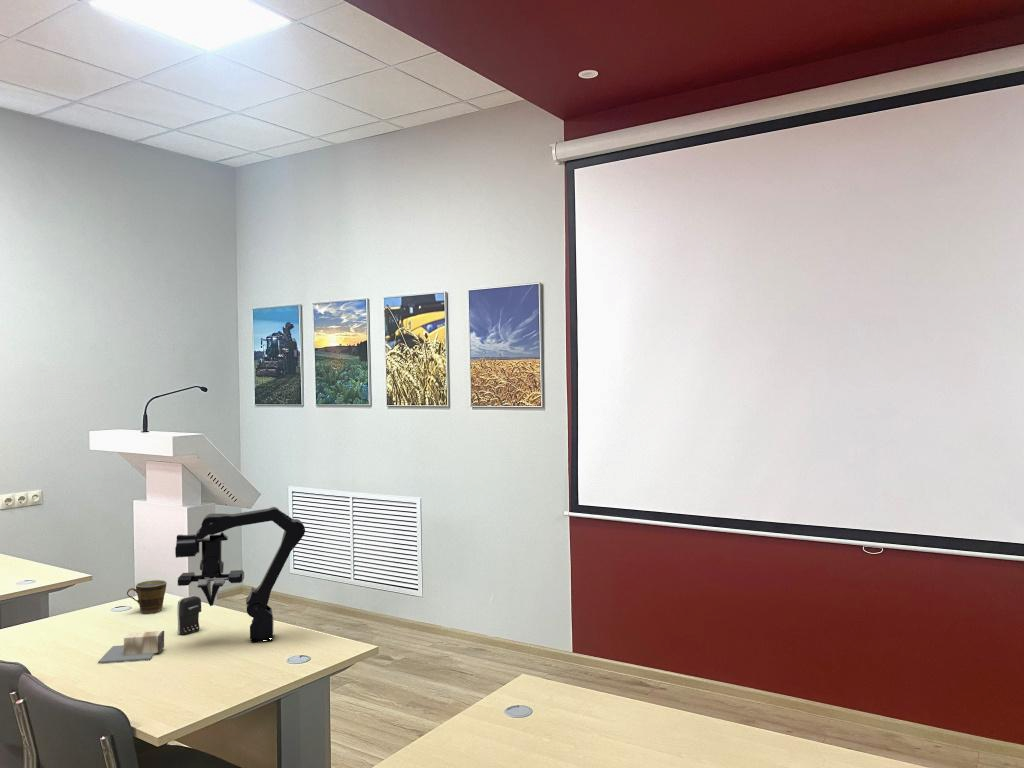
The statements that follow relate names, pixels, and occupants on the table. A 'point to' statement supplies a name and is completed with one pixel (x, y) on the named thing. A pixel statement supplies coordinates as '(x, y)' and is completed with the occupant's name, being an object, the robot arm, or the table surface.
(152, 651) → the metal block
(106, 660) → the mat
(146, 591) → the ceramic cup
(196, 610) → the battery charger
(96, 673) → the table surface
